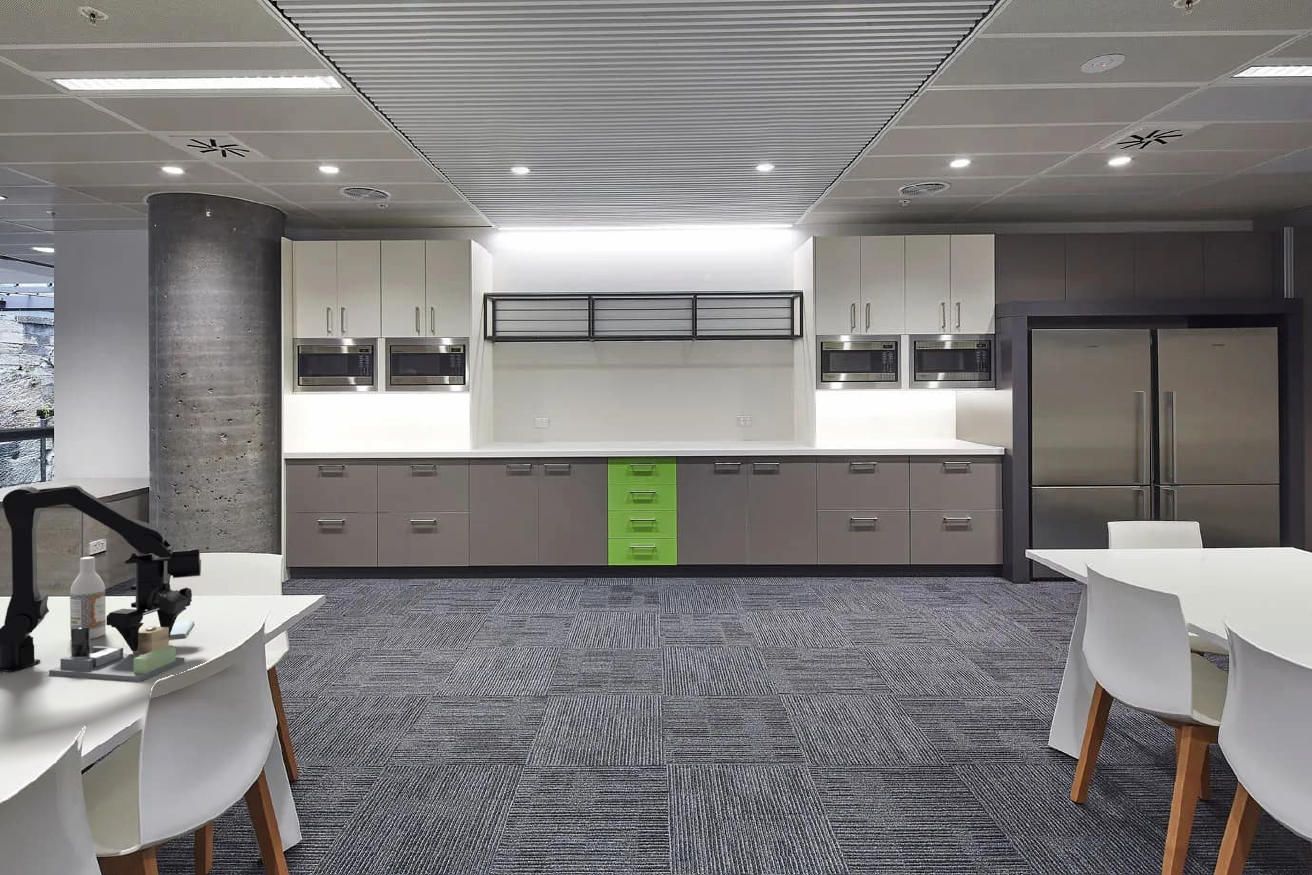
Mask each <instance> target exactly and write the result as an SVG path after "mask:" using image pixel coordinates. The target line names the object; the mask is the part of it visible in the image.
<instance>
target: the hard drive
mask: <svg viewBox="0 0 1312 875" xmlns="http://www.w3.org/2000/svg"><path fill="white" fill-rule="evenodd" d="M194 624H195V620H183V621H175V623H174V625H173V628H172V631H171V633H170V636H169V640H173V639H172V638H175V639H182V638H183V639H185V638H187V636H188V635H189V632H190V631H191V629H192V628H193V626H194ZM156 626H158V627H160V623H157V625H156Z"/></svg>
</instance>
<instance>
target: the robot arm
mask: <svg viewBox="0 0 1312 875" xmlns="http://www.w3.org/2000/svg"><path fill="white" fill-rule="evenodd" d="M1 502H2V503H1V504H2V507H3V511H4V512H3V513H4V516H5V519H6V521H7V523H8V526H9V528H10V530H11V532H10V533H11V575H12V576H11V581H12V582H11V583H12V588H11V589H12V592H11V597H10V600H9V603H8V605H7V610H6V612H5V617H4V625H2V626H1V627H0V672H15V671H18V670H21V669H23V668H26V667H27V668H28V667H30V666H32V665H33V666H34V665H35V664H38V663H41V659H37V658H35V644H34V637H33V636H31V634H32V632H33V631H34V630H35V629H36V628H37V627H38V626H39V625H40V624H41V623H42V622H43V620H44V619H45V617H46V616H47V614H48V613H49V612H50V610H49V608H48V600H49V594H44V595H41V593H40V592H39V588H38V562H37V561H38V560H37V559H38V558H37V556H38V555H37V552H38V549H37V548H38V547H37V526H38V523H39V520H40V516H41V514H42V509H44V508H49V507H56V506H60V505H62V506H63V505H69V506H71V507H73V508H75V509H76V510H78V511H79V512H82V513H83V514H84V515H86V516H88V517H90V518H92V519H94V520H96V521H97V522H99V523H101V524H102V525H103V526H106V527H107V528H109V529H110V530H113V531H114V532H116V533H117V534H118V535H120V536H121V538H123V540H125V541H126V543H128V544H129V545H130V546H131V547H132V548H134V549H135V550H136V551H133V552H132V553H131V555H130V556H129V557H128V558H126V560H125V561H124V563H125V564H126V565H127V564H130V565H131V564H134V566H135V569H134V570H135V572H134V573H135V574H134V576H135V578H134V579H135V584H133V585H131V586H130V591H135V602H131V603H130V607H131V608H121V609H117V610H114V611H111V612H109V613H108V614H107V615H106V626H110V627H111V628H115V629H116V630H117V631H118V633H119V634H120V636H122V638H123V640H124V641H125V643H126V644H127V647H129V649H130V651H132V652H133V651H137V648H138V635H139V630H140V629H141V627H142V626H143V625H144V624H145V623H144V622H142V620H143V619H144V616H145V615H146V616H147V615H148V614H152V613H155V612H156V613H157V616H158V621H159V624H160V627H169V636H170V633H171V631H172V628H173V625H174V623H175V622H176V620H177V617H178V616H179V615H180V614H181V613H183V612H184V611H186V610H187V607H188V606H189V607H190V606H191V602H193V600H192V597H193V595H192V589H191V588H189V587H183V588H181V589H179V590H178V589H175V590H173V589H171V583H170V582H167V581H166V580H165V574H166V572H165V570H167V575H169V576H170V577H172V578H173V579H177V578H180V579H181V578H191V577H201V575H202V574H201V573H202V559H201V553H200V550H201V549H200V548H199V547H195V548H194V547H193V548H189V549H177V550H176V549H175V547H174V546H172V545H171V544H170V542H168V540H166V534H165V531H164V530H163V529H162V528H161V527H159V526H156V525H154V524H150V523H148V522H145V521H142V520H138V519H136V518H133V517H131V516H128V515H127V514H125V513H124V512H122V511H121V510H118V509H116V508H114V507H113V506H111V505H110V504H109V503H107V502H104V501H103V500H101V499H99V498H97V497H96V496H94V495H93V494H91V493H89V492H88V491H86V490H84V488H82V487H81V486H79V485H75V484H71V485H68V486H61V487H60V486H59V487H48V488H40V489H38V488H35V487H33V486H22V487H18V488H16V489H14V490H11V491H9V492H8V493H6V495H4V497H3V498H2V501H1ZM139 553H140V554H139ZM141 553H142V554H141ZM165 562H167V563H166V565H167V566H165ZM165 567H166V569H165Z"/></svg>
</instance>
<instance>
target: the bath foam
mask: <svg viewBox="0 0 1312 875" xmlns="http://www.w3.org/2000/svg"><path fill="white" fill-rule="evenodd" d="M106 611H107V610H106V586H105V582H104V580H103V579H102V578H101V576H100V575H99V574H98V573H97V572H96V559H95V556H83V557H81V558H80V559H79V573H78V575H77V576H76V578H75V579H74V580H73V582H72V584H71V587H70V592H69V612H70V614H69V615H70V616H69V620H70V621H69V622H70V623H69V624H70V625H69V626H70V630H71V629H72V628H74V627H79V626H89V636H90V640H94V639H97V638H100V637H102V636H105V634H106V630H107V628H106V626H107V624H106V616H107V615H106Z"/></svg>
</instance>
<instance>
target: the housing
mask: <svg viewBox="0 0 1312 875" xmlns="http://www.w3.org/2000/svg"><path fill="white" fill-rule="evenodd" d="M161 647H170V639H169V627H158V626H157V625H156V626H154V625H149V626H146V627H143V628H139V635H138V648H137V651H132V654H142V655H144V654H146V653H149V652H151V651H154V650H156V649H159V648H161Z"/></svg>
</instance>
